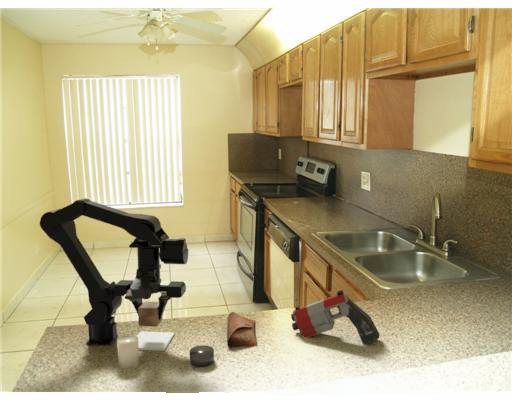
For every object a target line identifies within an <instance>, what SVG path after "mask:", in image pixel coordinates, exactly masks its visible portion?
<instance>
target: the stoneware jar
mask: <svg viewBox="0 0 512 400" xmlns="http://www.w3.org/2000/svg"><path fill="white" fill-rule="evenodd" d="M136 336H137V335H124V336H122V337H120V338H119V337H118V339H117V340H116V343H117V347H116V348H117V364H118V367H119V368H121V369H122V368H123V369H129V368H130V369H131V368H134V367H136V366H138V365H139V363H140V352H139V351H140V350H139V345H138V337H136Z"/></svg>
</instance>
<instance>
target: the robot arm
mask: <svg viewBox="0 0 512 400" xmlns="http://www.w3.org/2000/svg"><path fill="white" fill-rule="evenodd" d="M82 216H84V217H87V218H90V219H92V220H95V221H99V222H102V223H105V224H108V225H112V226H115V227H117V228H120V229H122V230H125V232H126V233H127V234H129V235H131V236H132V237H134V239H133V241H132V242H131V244H129V246H128V248H131V249H132V248H134V249H136V250H137V251H136V254H137V269H136V273H135V278H134V279H132V280H131V279H130V280H129V279H128V280H127V279H120V280H119V281H118V282H117V283H116V282H115V281H112V282H108V281H106V279H104V277H103V276H102V275H101V273H100V271H99V270H98V268H97V266H96V264H95V263H94V262H93V260H92V258H91V257H90V254H89V253H88V252H87V250H86V248H85V247H84V246H83V244H82V242H81V241H80V239H79V237H78V234H77V227H76V222H75V220H77V219H79V218H80V217H82ZM39 226H40V229H41V230H42V231H43V232H44V233H45V234H46V236H48V238H49V239H50V240H52V241H53V242H55V243H57V244H58V245H59V246H60V248H61V249H62V251H63V252H64V253H65V255H66V257H67V259H68V261H69V262H70V263H71V265H72V266H73V268H74V270H75V272H76V274H77V275H78V276H79V278H80V279H81V281H82V283H83V284H84V286H85V288H86V289H87V292H88V293H87V294H88V296H87V297H88V302H89V304H90V305H89V306H90V307H91V309H90V311H89V312H87V314H85V315H84V316H83V320H84V321H85V324H86V325H87V327H88V340H87V341H86V342H85V343H86V345H92V346H93V345H95V346H96V345H97V346H98V345H99V346H103V345H104V346H109V345H111V344H112V342H113V341H115V339H116V338H117V337H118V335H119V334H118V332H117V331H118V327H117V322H116V320H115V319H116V317H115V316H113V315H114V314H116V312H117V310H118V308H120V307H121V305H122V302H123V297H124V299H126V300H129V302H131V304H132V306H133V307H134V310H135V311H136V314H137V315H138V308H139V307H140V305H141V304H142V303H143V300H149V299H150V298H151V297H152V295H154V294H158V293H160V296H159V297H158V302H159V320H161V318H162V319H163V315H164V312H165V309H166V306H167V303H168V301H170V300H171V299H173V298H174V299H175V298H176V299H179V298H182V297H183V296H184V294H185V293H186V292H187V285H186V283H185V282H184V281H174V280H173V281H172V280H171V281H170V282H169V284H167V285H166V284H161V283H162V278H161V268H162V264H161V262H162V263H163V264H164V265H187V263H188V261H189V260H188V259H189V248H188V245H187V244H188V243H186V242H187V241H186V238H183V237H181V238H180V237H179V238H170V236H169V235H168V234H167V233H166V231H165V230H164V228H163V227H162V223H161V221H160V219H159V218H158V217H157V216H154V215H150V214H143V213H131V212H130V213H129V212H128V211H127V212H126V211H123V210H121V209H118V208H115V207H111V206H108V205H105V204H102V203H98V202H96V201H93V200H90V199H89V198H86V197H85V198H81V199H76V200H75V201H73V202H72V203H70V204H68V205H66V206H64V207H61V208H58V209H54V210H51V211H47V212H45V213H43V214H42V215H41V217H40V221H39ZM160 261H161V262H160Z"/></svg>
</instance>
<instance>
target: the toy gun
mask: <svg viewBox="0 0 512 400" xmlns="http://www.w3.org/2000/svg"><path fill="white" fill-rule="evenodd" d="M335 308H337V309H338V312H335V313H333V314H332V309H335ZM344 317H345V318H348V319H349V321H350V322H351V323H352V325H353V326H354V327H355V329H356V330H357V333H358V336H359V338H360V340H361V344H370V343H373V342H376V341H378V339H380V332H379V330H378V329H377V326H376V325H375V322H374V321H373V319H372V317H371V316H370V315H369V314H368V313H367V312H366V311H364V309H362V308H361V307H360V306H359V305H357V304H356V303H355V302H354V301H353V300H352V299H351V298H350V296H349V293H348V292H347V291H346V290H345V291H344V290H343V289H341V290H338V291H337V292H336V294H334V295H332V296H329V297H326V298H324V299H321V300H318V301H315V302H312V303H310V304H309V303H308V304H306V305H304V306H300V305H299V306H296V307H295V309H294V310H293V311H292V314H290V318H291V320H292V321H293V322H292V324H291V328H292V329H293V330H294V331H297V330H299V332H298V334H299V336H300V337H301V338H306V339H307V338H310V337H313V336H317V335H319V334H323V333H325V332H328V331H331V330H333V328H334V326H335V323H336V322H335V320H337V319H340V318H344Z"/></svg>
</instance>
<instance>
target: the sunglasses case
mask: <svg viewBox="0 0 512 400" xmlns="http://www.w3.org/2000/svg"><path fill="white" fill-rule="evenodd" d="M255 324H256V321H255V320H254V319H250V318H248V317H245V316H243V315H240V314H238V313H236V312H235V311H231V312H230V313H229V314H228V316H227V328H226V329H227V332H226V333H227V334H226V339H227V340H226V343H227V344H226V345H227V346H228V347H229V348H236V349H237V348H251V347H253V348H254V347H257V346H258V342H257V337H256V328H255V327H256V326H255Z"/></svg>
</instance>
